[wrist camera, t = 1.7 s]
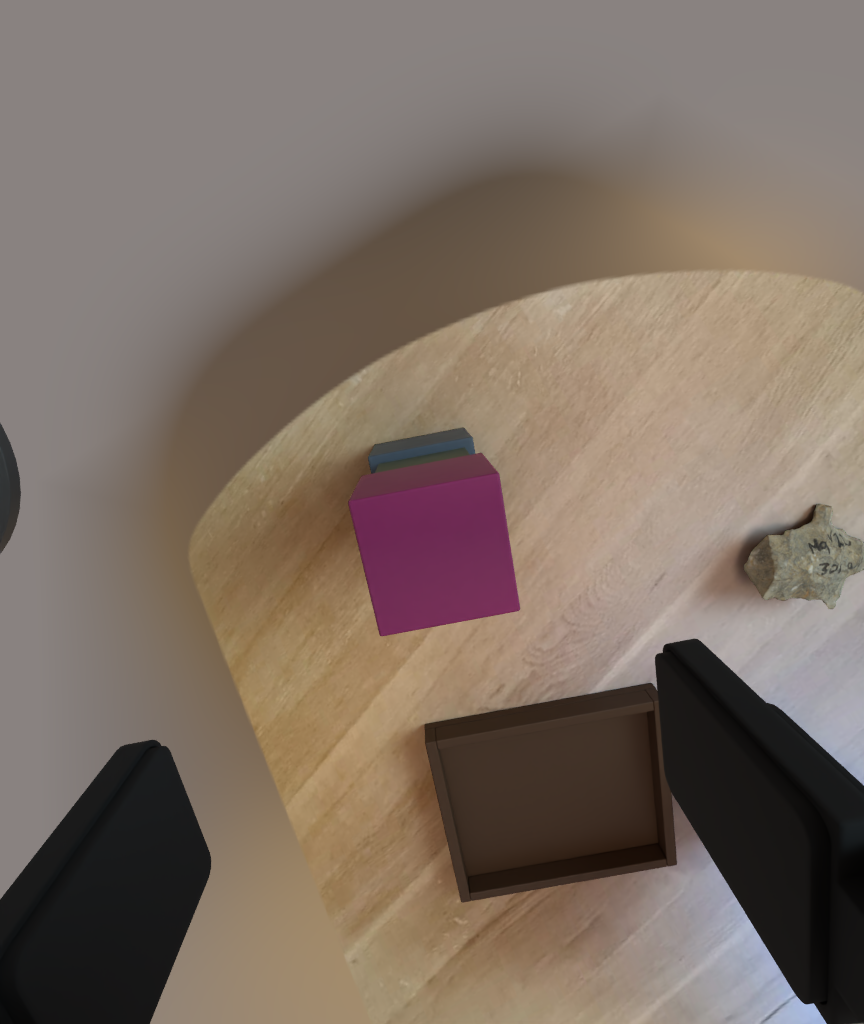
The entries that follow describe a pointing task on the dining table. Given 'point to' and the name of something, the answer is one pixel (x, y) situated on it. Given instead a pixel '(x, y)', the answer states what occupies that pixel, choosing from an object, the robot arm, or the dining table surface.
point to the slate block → (420, 446)
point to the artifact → (806, 561)
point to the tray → (553, 792)
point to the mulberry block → (434, 544)
